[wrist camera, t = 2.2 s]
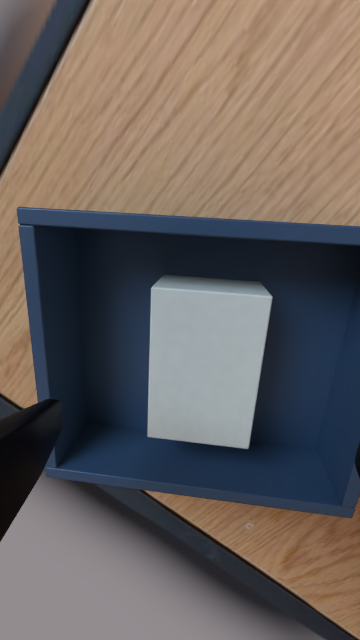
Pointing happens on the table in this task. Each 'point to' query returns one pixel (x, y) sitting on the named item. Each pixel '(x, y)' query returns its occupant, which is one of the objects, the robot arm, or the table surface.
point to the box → (134, 345)
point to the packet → (206, 358)
